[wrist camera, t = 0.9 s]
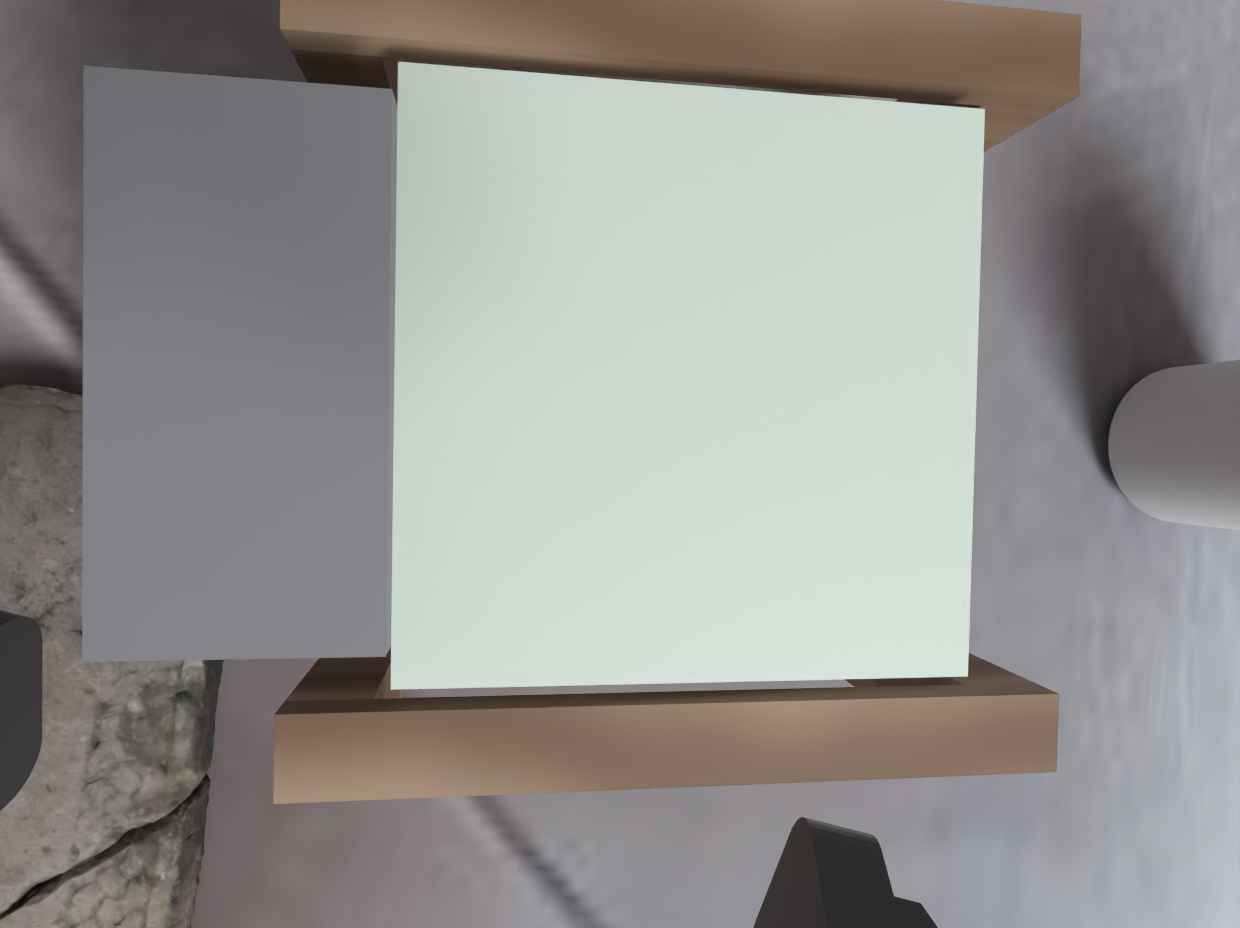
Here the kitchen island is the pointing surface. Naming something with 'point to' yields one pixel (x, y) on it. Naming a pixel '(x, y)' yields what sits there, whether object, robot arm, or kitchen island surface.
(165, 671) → the stone slab
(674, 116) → the trapdoor plate
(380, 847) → the kitchen island surface
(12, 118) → the kitchen island surface
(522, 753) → the wooden rack
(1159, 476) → the beverage can
